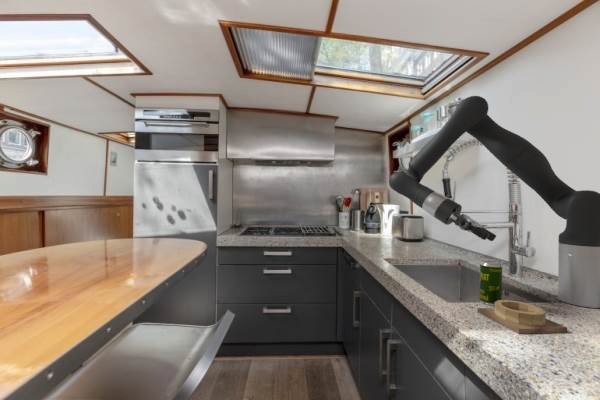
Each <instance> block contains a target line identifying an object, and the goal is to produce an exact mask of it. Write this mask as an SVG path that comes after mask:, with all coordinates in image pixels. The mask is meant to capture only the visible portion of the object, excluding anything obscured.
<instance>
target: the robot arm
mask: <svg viewBox="0 0 600 400" xmlns="http://www.w3.org/2000/svg"><path fill="white" fill-rule="evenodd" d="M488 113H489V103H488V101H487V99H485V98H484V97H483V96H479V95H471V96H467V97H465V98H463V100H461V101H460V102H458V104H457V105H456V107H455V110H454V111H453V113H452V114H451V116H450V117H449V119H447V121H446V123H445V124H444V125H442V127H441V128H440V130H439V131H437V133H436V134H434V136H432V138H431V139H430V140H429V141H428V142H427V143H426V144H425V145H423V147H422V148H421V149H419V151H418V152H417V153H416V154H415V155H414V156H413V157H412V158H411V159H410V160H409V162H408V169H407V170H406V172H403V171H397V172H394V173H392V174H391V175H390V177H389V179H388V183H389V187H390V189H391V190H393V191H395V192H396V193H397V194H399V195H401V196H404V197H405V198H407V199H408V200H409V201H410V202H412V203H413V204H415V205H416V206H417V207H419V208H421V209H423V210H424V211H425V212H426V213H427V214H429V215H430V216H432V217H434V218H435V219H436V220H438V221H439V222H441V223H442V224H444V225H447V226H449V225H451V224H452V223H454V225H455V226H456V227H459V228H461V229H462V230H464V231H466V232H468V233H472V234H473V235H475V236H477V237H478V238H480V239H481V240H484V241H485V240H488V241H490V242H493V241H494V240H495V239H496V238H497V235H496V234H495V233H493V232H491V230H488V229H487V228H485V227H484V225H481V224H479V222H478V221H476V220H475V219H473V218H471V217H470V216H469V215H467V214H466V213H465V214H464V213H461V212H462V211H463V210H462V209H463V207H462V205H461V204H459V203H457V202H456V201H454V200H452V199H451V198H450V197H447V196H446V195H444V194H442V193H439V192H437V191H436V190H434V189H432V188H430V187H428V186H426V185H424V184H422V183H421V181H422V180H423V178H424V176H425V175H426V174H427V173H428V172H429V171H430V169H432V168H433V167H434V166H435V165H436V164H437V163H438V162H439V161H440V159H441V158H442V157H443V156H444V155H445V154H446V153H447V151H448V150H449V149H450V148H451V147H452V146H453V145H454V144H455V142H456V141H457V140H458V139H460V137H461V136H463V135H464V134H465V133H467V134H468V135H470V136H472V137H473V138H474V139H475V140H477V141H478V142H479V143H481V144H482V145H483V146H484V148H486V149H487V151H489V153H491V154H492V156H494V157H495V159H497V160H498V161H499V162H500V163H501V164H502V165H503V166H504V167H505V168H506V169H508V170H509V171H510V173H513V174H514V175H515V176H516V177H517V178H518V179H520V180H521V182H523V183H525V184H526V185H527V186H528V187H529V188H530V189H531V190H533V191H534V192H535V193H537V194H538V196H539V197H540V198H541V199H542V200H543V201H544V202H545V203H546V205H547V206H549V208H550V209H551V210H552V211H553V212H554V213H555V214H556V215H557V216H558V217H560V218H561V219H564V220H566V224H565V228H564V230H563V231H562V232H560V233H559V234H558V242H557V243H558V249H557V250H558V252H557V253H558V256H557V257H558V266H557V267H558V272H557V273H558V277H557V280H558V281H557V282H558V284H557V286H558V287H557V293H558V296H557V299H558V300H559V301H562V302H564V303H566V304H570V305H573V306H574V305H575V306H578V307H579V306H580V307H583V308H585V307H586V308H589V309H590V308H593V309H595V308H596V309H598V308H599V309H600V193H599V192H597V191H595V190H590V189H587V190H583V189H582V190H575V189H574V188H572V187H571V186H569V185H568V184H567V183H565V182H564V181H563V180H562V179H561V178H559V177H558V175H557V174H556V173H555V171H554V170H553V168H552V165H551V164H550V161H549V159H547V157H546V156H545V154H544V153H543V152H542V151H541V150H540V149H539V148H537V147H536V146H535V145H533V144H532V143H531V142H530V141H528V139H526V138H525V137H522V136H520V135H519V134H517V133H515V132H512V131H510V130H508V129H506V128H504V127H502V126H501V125H500V124H498V123H497V122H496V121H495V120H493V119H492V117H491V116H489V115H488Z"/></svg>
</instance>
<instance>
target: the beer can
mask: <svg viewBox="0 0 600 400" xmlns="http://www.w3.org/2000/svg"><path fill="white" fill-rule="evenodd" d="M478 294H479V296H478V297H479V298H478V299H479V301H480V303H481V304H483V303H488V304H486V305H487V306H489V305H490V306H489V307H495V302H496V301H498V300H503V265H502V262H500V261H497V260H492V259H490V260H489V259H480V263H479V293H478Z"/></svg>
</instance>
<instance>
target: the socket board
mask: <svg viewBox="0 0 600 400" xmlns="http://www.w3.org/2000/svg"><path fill="white" fill-rule="evenodd" d="M477 313H478V314H480V315H483V316H484V317H486V318H488V319H490V320H492V321H494V322H496V323H498V324H500V325H502V326H504V327H506V328H507V329H509V330H511V331H513V332H515V333H517V334H540V333H541V334H543V333H544V334H545V333H547V334H548V333H551V334H552V333H567V332H568V326H565V325H563V324H560V323H558V322H555V321H552V320H550V319H547V318H546V315H547V314H546V313H547V312H546V311H545V310H544V309H543V308H542V307H539V306H536V305H533V304H531V303H527V302H526V303H525V302H522V301H517V300H511V299H510V300H509V299H502V300H498V301H496V302H495V306H494V307H479V308H477Z"/></svg>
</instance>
